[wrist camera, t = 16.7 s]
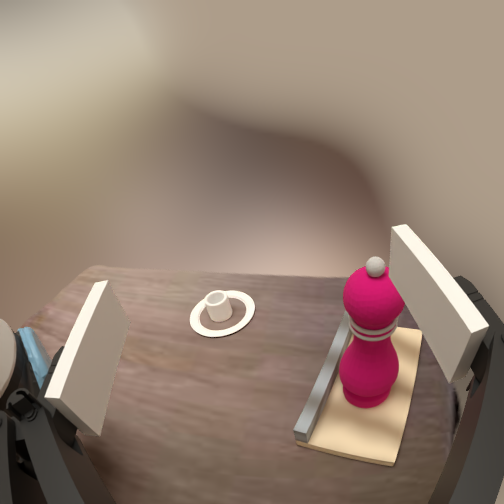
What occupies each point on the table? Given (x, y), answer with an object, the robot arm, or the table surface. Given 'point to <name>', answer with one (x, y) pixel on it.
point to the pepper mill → (370, 335)
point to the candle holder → (221, 312)
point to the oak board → (355, 418)
